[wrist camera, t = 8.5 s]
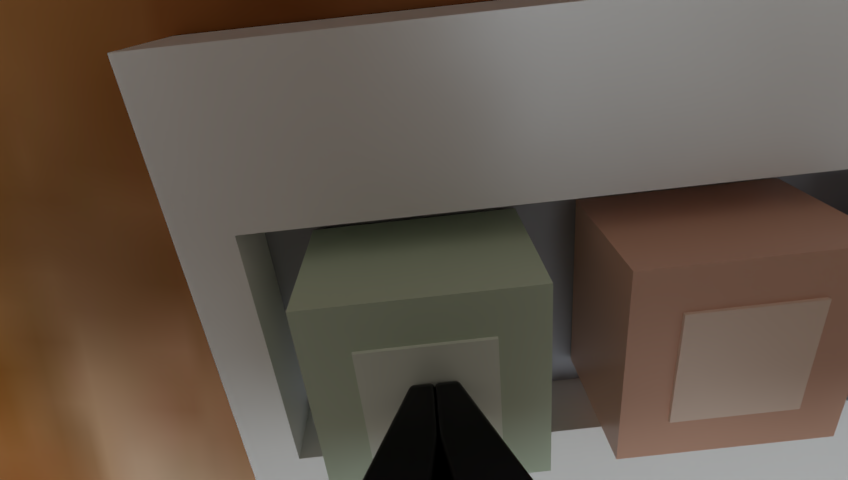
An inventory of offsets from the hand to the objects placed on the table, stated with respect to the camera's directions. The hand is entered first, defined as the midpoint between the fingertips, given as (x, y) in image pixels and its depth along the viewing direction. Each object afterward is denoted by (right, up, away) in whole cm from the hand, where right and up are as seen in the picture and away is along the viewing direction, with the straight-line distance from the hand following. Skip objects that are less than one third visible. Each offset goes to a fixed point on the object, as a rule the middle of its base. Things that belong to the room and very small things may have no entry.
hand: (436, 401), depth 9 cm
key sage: (0, +1, +3) cm, 3 cm away
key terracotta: (+5, +2, +3) cm, 6 cm away
